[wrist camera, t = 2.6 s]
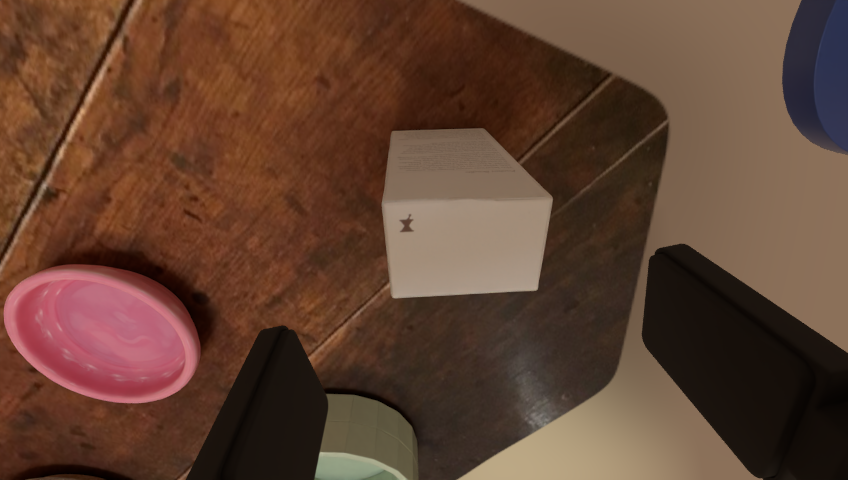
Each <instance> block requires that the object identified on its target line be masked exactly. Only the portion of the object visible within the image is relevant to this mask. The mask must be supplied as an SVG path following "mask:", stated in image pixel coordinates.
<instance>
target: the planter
mask: <svg viewBox="0 0 848 480" xmlns="http://www.w3.org/2000/svg"><path fill="white" fill-rule="evenodd" d="M27 480H107V479H103V478H99V477H94V476H87V475H78V474H60V475H51V476H47V477H42V478H32V479H27Z"/></svg>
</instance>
